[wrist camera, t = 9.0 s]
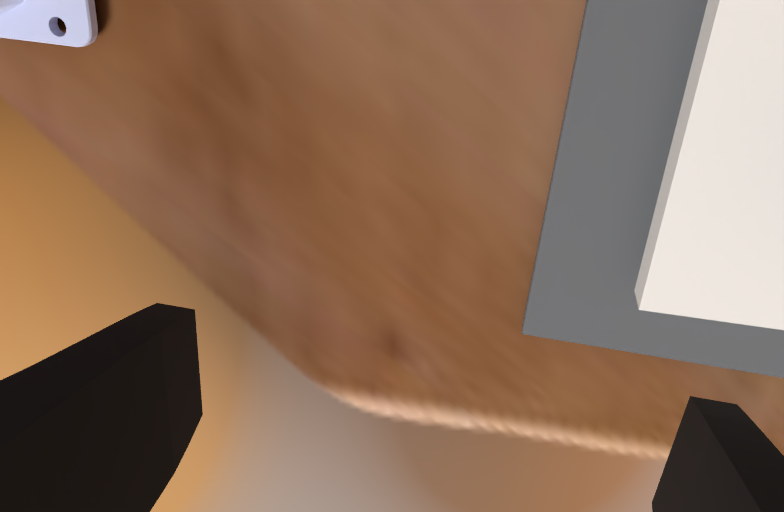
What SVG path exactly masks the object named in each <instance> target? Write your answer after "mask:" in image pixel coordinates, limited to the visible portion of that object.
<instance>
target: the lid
mask: <svg viewBox="0 0 784 512" xmlns="http://www.w3.org/2000/svg"><path fill="white" fill-rule="evenodd" d="M634 291H635V296H636V300H637V304H638V308H639V310H643V311H650V312H658V313H665V314H672V315H679V316H686V317H693V318H700V319H707V320H715V321H722V322H729V323H736V324H743V325H750V326H757V327H765V328H772V329H779V330H784V0H708V2H707V6H706V10H705V14H704V18H703V22H702V26H701V29H700V33H699V37H698V41H697V45H696V49H695V53H694V57H693V61H692V65H691V69H690V73H689V77H688V81H687V85H686V89H685V93H684V97H683V100H682V104H681V108H680V112H679V116H678V120H677V124H676V128H675V132H674V136H673V140H672V144H671V148H670V152H669V156H668V160H667V164H666V167H665V171H664V175H663V179H662V183H661V187H660V191H659V195H658V199H657V203H656V207H655V211H654V215H653V219H652V223H651V227H650V231H649V235H648V238H647V242H646V246H645V250H644V254H643V258H642V262H641V266H640V270H639V274H638V278H637V282H636V286H635V290H634Z"/></svg>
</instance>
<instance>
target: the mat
mask: <svg viewBox="0 0 784 512" xmlns="http://www.w3.org/2000/svg"><path fill="white" fill-rule="evenodd" d="M707 2H708V0H587V1H586V6H585V11H584V16H583V21H582V26H581V31H580V37H579V42H578V47H577V52H576V57H575V62H574V67H573V72H572V77H571V82H570V87H569V92H568V97H567V102H566V107H565V112H564V117H563V122H562V127H561V133H560V138H559V143H558V148H557V153H556V158H555V163H554V168H553V173H552V178H551V183H550V188H549V193H548V198H547V203H546V208H545V213H544V218H543V223H542V228H541V234H540V239H539V244H538V249H537V254H536V259H535V264H534V269H533V274H532V279H531V284H530V289H529V294H528V299H527V304H526V309H525V314H524V319H523V324H522V334H526V335H532V336H538V337H544V338H550V339H556V340H561V341H567V342H573V343H579V344H585V345H591V346H597V347H603V348H609V349H615V350H621V351H627V352H633V353H639V354H645V355H650V356H656V357H662V358H668V359H674V360H680V361H686V362H692V363H698V364H704V365H710V366H716V367H722V368H728V369H733V370H739V371H745V372H751V373H757V374H763V375H769V376H775V377H781V378H784V330H779V329H772V328H765V327H757V326H750V325H743V324H736V323H729V322H722V321H715V320H707V319H700V318H693V317H686V316H679V315H672V314H665V313H658V312H650V311H643V310H639V308H638V304H637V300H636V296H635V291H634V290H635V286H636V282H637V278H638V274H639V270H640V266H641V262H642V258H643V254H644V250H645V246H646V242H647V238H648V235H649V231H650V227H651V223H652V219H653V215H654V211H655V207H656V203H657V199H658V195H659V191H660V187H661V183H662V179H663V175H664V171H665V167H666V164H667V160H668V156H669V152H670V148H671V144H672V140H673V136H674V132H675V128H676V124H677V120H678V116H679V112H680V108H681V104H682V100H683V97H684V93H685V89H686V85H687V81H688V77H689V73H690V69H691V65H692V61H693V57H694V53H695V49H696V45H697V41H698V37H699V33H700V29H701V26H702V22H703V18H704V14H705V10H706V6H707Z"/></svg>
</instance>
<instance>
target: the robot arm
mask: <svg viewBox="0 0 784 512" xmlns="http://www.w3.org/2000/svg"><path fill="white" fill-rule="evenodd" d="M58 18H60V19H61V20H62V21H63V22H64V23H65V26H66V33H63V32H62V31H61V30H60V29H59V26H58V24H57V22H58ZM97 36H98V25H97V17H96V9H95V1H94V0H0V37H1V38H9V39H17V40H25V41H33V42H41V43H49V44H57V45H65V46H73V47H83V46H87V45H90V44H91V43H93V42H94V41H95V40H96V38H97ZM200 388H201V387H200V374H199V361H198V348H197V333H196V321H195V310H193V309H188V308H183V307H176V306H171V305H165V304H159V303H156V304H154V305H152V306H149V307H147V308H145V309H143V310H140V311H138V312H136V313H134V314H132V315H130V316H128V317H126V318H124V319H122V320H120V321H118V322H116V323H114V324H112V325H110V326H108V327H106V328H104V329H103V330H101V331H99V332H97V333H95V334H93V335H91V336H89V337H87V338H85V339H83V340H81V341H79V342H77V343H75V344H73V345H71V346H69V347H68V348H66V349H64V350H62V351H60V352H58V353H56V354H54V355H52V356H50V357H48V358H46V359H44V360H42V361H40V362H38V363H36V364H34V365H32V366H30V367H28V368H26V369H24V370H22V371H20V372H18V373H16V374H13V375H11V376H9V377H7V378H5V379H3V380H0V512H150V511H151V509H152V507H153V506H154V504H155V503H156V501H157V500H158V498H159V497H160V495H161V493H162V492H163V490H164V489H165V487H166V485H167V484H168V482H169V481H170V479H171V478H172V476H173V474H174V473H175V471H176V469H177V467H178V465H179V463H180V461H181V459H182V457H183V455H184V453H185V451H186V449H187V447H188V445H189V443H190V441H191V438H192V436H193V434H194V432H195V430H196V427H197V425H198V423H199V421H200V419H201V417H202V414H203V413H202V400H201V389H200ZM652 509H653V512H784V456H783V455H782V454H781V453H780V451H779V450H778V449H777V448H776V447H775V446H774V445H773V444H772V442H771V441H770V440H769V439H768V438H767V437H766V436H765V434H764V433H763V432H762V431H761V430H760V429H759V428H758V427H757V425H756V424H755V423H754V422H753V421H752V420H751V419H750V418H749V417H748V416H747V414H746V413H745V412H744V411H743V410H742V409H741V408H740V407H739V406H738V405H737V404H731V403H726V402H720V401H714V400H709V399H703V398H697V397H691V396H690V398H689V401H688V404H687V407H686V409H685V412H684V415H683V418H682V420H681V423H680V426H679V429H678V432H677V434H676V437H675V440H674V443H673V445H672V448H671V451H670V454H669V457H668V459H667V462H666V465H665V468H664V471H663V474H662V476H661V479H660V482H659V484H658V487H657V490H656V493H655V496H654V498H653V501H652Z"/></svg>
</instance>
